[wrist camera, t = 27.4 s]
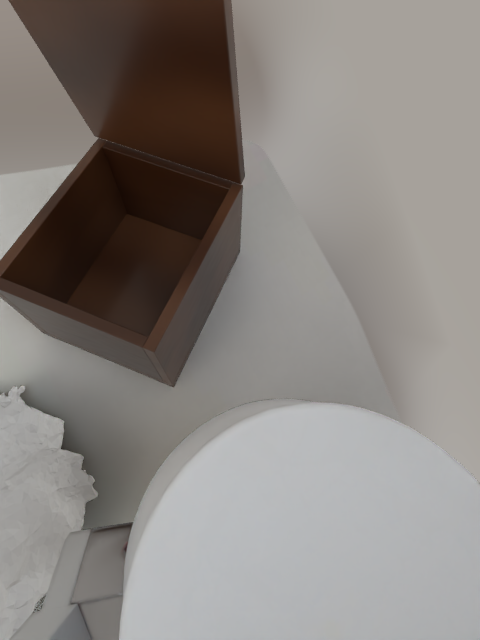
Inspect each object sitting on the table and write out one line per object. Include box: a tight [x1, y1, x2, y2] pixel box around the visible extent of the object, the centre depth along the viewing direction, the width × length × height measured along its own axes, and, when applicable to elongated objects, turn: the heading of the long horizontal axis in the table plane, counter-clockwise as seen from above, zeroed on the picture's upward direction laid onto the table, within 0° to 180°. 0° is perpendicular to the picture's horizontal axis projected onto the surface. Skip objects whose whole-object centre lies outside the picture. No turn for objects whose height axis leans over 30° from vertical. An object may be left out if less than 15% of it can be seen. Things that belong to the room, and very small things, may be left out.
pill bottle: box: [119, 399, 480, 640], centre depth 9 cm, size 6×6×11 cm
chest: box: [0, 138, 243, 387], centre depth 30 cm, size 15×13×9 cm
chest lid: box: [9, 0, 245, 184], centre depth 22 cm, size 16×13×5 cm
